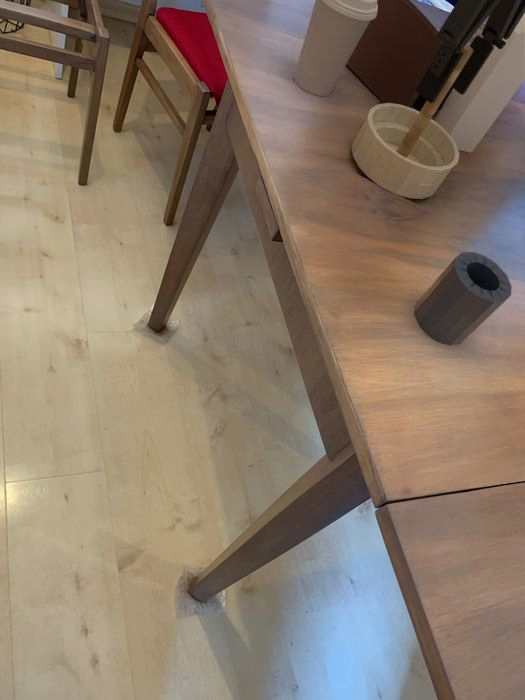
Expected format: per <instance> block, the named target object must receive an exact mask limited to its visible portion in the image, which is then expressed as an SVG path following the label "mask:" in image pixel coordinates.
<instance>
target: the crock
mask: <svg viewBox="0 0 525 700" xmlns="http://www.w3.org/2000/svg"><path fill="white" fill-rule="evenodd" d="M511 296H512V284H511V281H510V280H509V277H508V274H507V273H505V271H504V270H503V269H502V267H500V266H499V264H498V263H496V262H495V261H493V260H492V259H490V258H489V257H487V256H486V255H484V254H480V253H477V252H474V251H465V252H464V251H463V252H461V253H459V254H458V255H456V256H455V258H454V259H452V261H451V262H450V263H449V264H448V266H447V267H446V268H445V269H444V270H443V271H442V273H440V275H439V276H438V277H437V278H436V279H435V281H434V282H433V283H432V284H431V286H430V287H429V288H428V289H427V290H426V291H425V292H424V293H423V295H421V296H420V298H419V299H418V301H416V303H415V307H414V316H415V320H416V321H417V324H418V325H419V327H420V329H422V331H423V332H424V333H425V334H426V335H427V336H428V337H430V338H431V339H433V340H434V341H436V342H438V343H441V344H444V345H447V346H448V345H449V346H455V345H460V344H462V343H463V342H464V341H465V340H466V339H467V338H468V337H469V336H470V335H471V334H472V333H474V332H475V330H477V328H479V326H481V325H482V324H483V323H484V322H485V321H486V320H487V319H488V318H489V317H490V316H492V314H493V313H494V312H495V311H497V310H498V309H499V308H500V307H501V306H502V305H503V304H504V303H505V302H506V301H507V300H508V299H509V298H510V297H511Z"/></svg>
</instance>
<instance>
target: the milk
mask: <svg viewBox="0 0 525 700" xmlns="http://www.w3.org/2000/svg"><path fill="white" fill-rule="evenodd" d="M502 40H503V41H504V42H506V45H505V46H504V47H503V48H502V49H498V48H497V47H496V46H495V45H494V46H493V47H494V49H493V51H492V52H491V54H490V55H489V57H488V58H487V60H486V61H485V63H484V64H483V66H482V67H481V69H480V71H479V72H478V74H477V75H476V77H475V78H474V80H473V81H472V83H471V84H470V86H469V87H468V89H467V90H466V92H465V93H464V94H463V95H461V94H460V93H458V92H457V91H456V90H455V89H453V91H452V92H451V94H450V96H449V97H448V99H447V101H446V103H445V104H444V106H443V107H442V109H441V110H440V112H439V113H438V115H436V118H435V119H434V121H435V122H437V123H438V124H439V125H440V126H441V127H442V128H443V129H444V130H445V131H446V132H447V133H449V135H450V136H451V137H452V139H453V140H454V142H455V143H456V145H457V148H458V151H460V152H464V153H469V154H472V153H473V152H474V150H475V149H476V147H477V146H478V145H479V143H480V142H481V141H482V139H483V138H484V136H486V134H487V133H488V131H489V130H490V128H491V127H492V126H493V125H494V123H495V121H496V120H497V119H498V117H499V116H500V115H501V114H502V112H503V111H504V109H505V107H507V105H508V104H509V102H510V101H511V99H513V96H515V94H516V93H517V92H518V90H519V88H520V87H521V86H522V84H523V83H525V13H524V15H523V16H522V18H521V19H520V21H519V23H518V24H517V26H516V28H515V29H514V31H513V32H512V34H511V36H510V37H509V38H508V39H507V40H505V39H504V38H503V39H502Z"/></svg>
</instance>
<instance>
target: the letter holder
mask: <svg viewBox="0 0 525 700" xmlns="http://www.w3.org/2000/svg"><path fill="white" fill-rule="evenodd" d="M377 5H378V11H377V16H376V18H375V19H373V20H371V21H370V22H369V24H368V26H367V28H366V29H365V31H364V33H363V35H362V37H361V38H360V40H359V42H358V44H357V46H356V47H355V49H354V51H353V53H352V55H351V56H350V58H349V60H348V62H347V64H346V65H345V66H347V67H348V69H349V70H350V71H351V72H353V73H354V75H355V76H356V77H357V78H358V79H359V80H360V81H361V82H362V83H363V84H364V85H365V86H366V88H368V89H369V90H370V91H371V92H372V94H374V96H376V97H377V99H378V100H379V102H381V104H384V103H393V104H400V105H404V106H407V107H410V108H413V109H415V110H417V111H419V112H420V111H421V109H422V108H423V106H424V104H425V103H426V101H427V100H426V99H425V98H424V97H423V96H422V95H420V94H419V93H418V92H417V91H416V89H417V88H418V86H419V84H420V82H421V81H422V79H423V77H424V75H425V74H426V72H427V70H428V68H429V67H430V65H431V63H432V62H433V60H434V58H435V56H436V55H437V53H438V51H439V49H440V48H441V46H442V44H443V42H442V41H441V40H440V39H438V38H437V34H438V32H439V30H438V29H437V28H436V27H435V25H434V24H433V23H432V22H431V21H430V20H429V18H428V17H427V16H426V15H425V14H424V13H423V12H422V11H421V9H419V8H418V7H417V6H416V5H415V4H414V3H413V2H412V1H411V0H378V1H377ZM453 91H454V88H453V87H451V88H450V89H449V91H448V93H447V94H446V96H445V97H444V99H443V101H442V102H441V104H440V105H439V107H438V109H437V110H436V112H435V113H434V115H433V117H437V116H438V115H439V113H440V112H441V110H442V108H443V107H444V105H445V104H446V102H447V101H448V99H449V97H450V96H451V94H452V93H453Z"/></svg>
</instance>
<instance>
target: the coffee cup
mask: <svg viewBox="0 0 525 700" xmlns="http://www.w3.org/2000/svg"><path fill="white" fill-rule="evenodd" d="M377 1H378V0H315V2H314V5H313V8H312V12H311V15H310V20H309V22H308V26H307V30H306V33H305V37H304V40H303V42H302V43H303V44H302V47H301V50H300V54H299V57H298V61H297V64H296V67H295V71H294V75H293V80H294V81H295V83H296V84H297V86H298V87H300V89H302V90H303V91H305V92H307V93H309V94H311V95H314V96H317V97H326V96H329V95H330V94H332V93H331V92H332V91H333V90H334V88H335V85H336V84H337V82H338V80H339V78H340V76H341V74H342V73H343V71H344V69H345V67H346V66H347V65H346V64H347V62H348V60H349V58H350V56H351V55H352V53H353V51H354V49H355V47H356V46H357V44H358V42H359V40H360V38H361V37H362V35H363V33H364V31H365V29H366V28H367V26H368V24H369V22H370V21H371V20H373V19H375V18H376V16H377V11H378V5H377Z"/></svg>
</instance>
